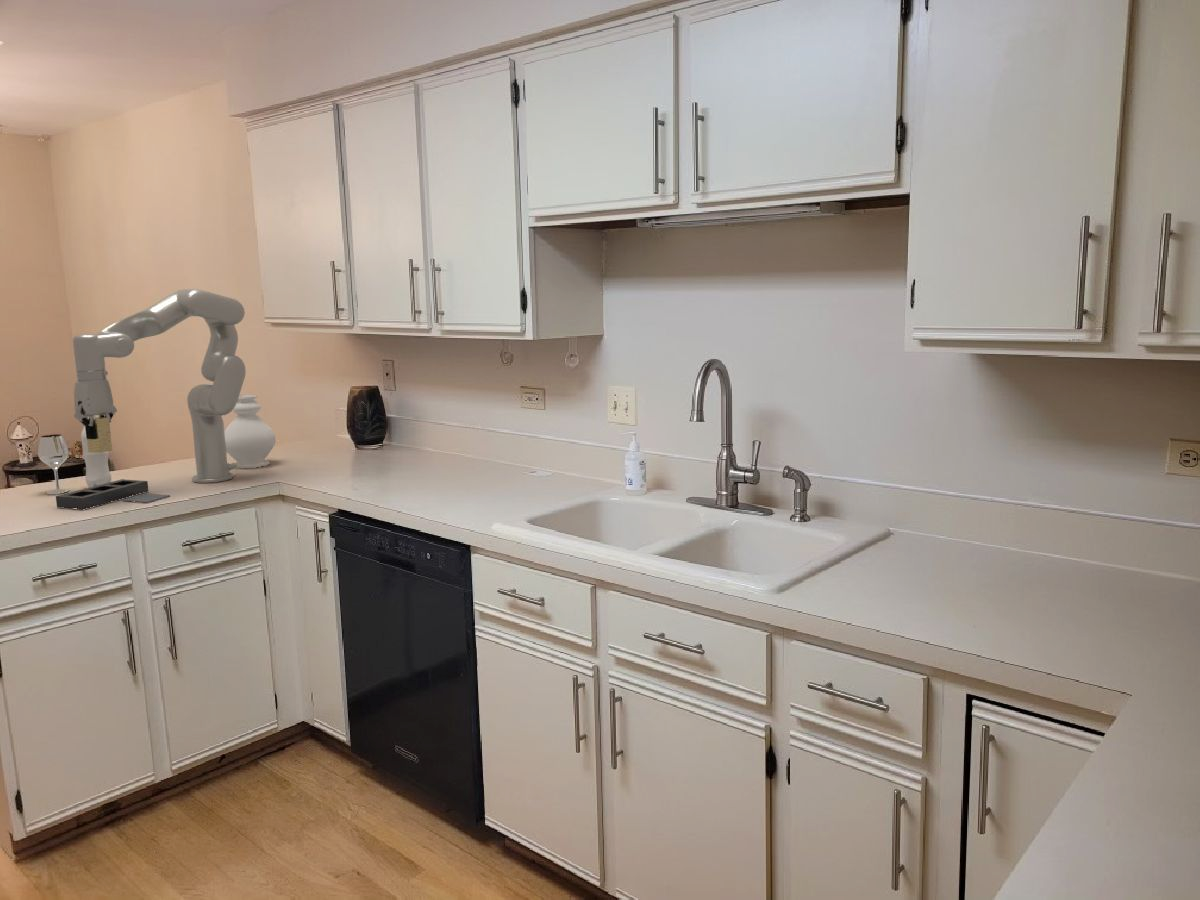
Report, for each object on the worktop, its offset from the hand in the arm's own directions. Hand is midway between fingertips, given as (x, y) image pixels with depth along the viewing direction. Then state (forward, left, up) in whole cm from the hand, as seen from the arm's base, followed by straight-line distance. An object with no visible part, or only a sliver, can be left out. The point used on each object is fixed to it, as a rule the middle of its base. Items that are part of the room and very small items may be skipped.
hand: (98, 436), depth 265 cm
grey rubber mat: (-4, +12, -19) cm, 23 cm away
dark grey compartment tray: (0, 0, -19) cm, 19 cm away
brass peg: (0, 0, -4) cm, 4 cm away
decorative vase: (-57, +7, -19) cm, 60 cm away
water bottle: (-13, -16, -19) cm, 28 cm away
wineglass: (-4, -23, -19) cm, 30 cm away
